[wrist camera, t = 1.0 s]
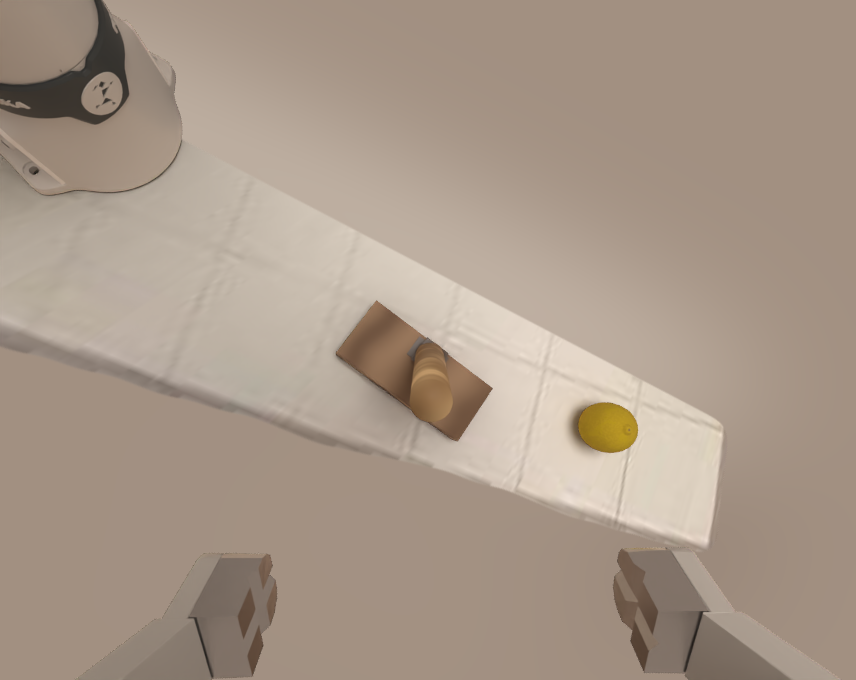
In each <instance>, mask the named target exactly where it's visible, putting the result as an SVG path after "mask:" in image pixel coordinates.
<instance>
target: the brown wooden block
mask: <svg viewBox="0 0 856 680" xmlns="http://www.w3.org/2000/svg"><path fill="white" fill-rule="evenodd" d="M425 340H426V338H425V337H424V336H423V335H421V334H420V333H419V332H417V331H416V330H415V329H414V328H412V327H411V326H410V325H408V324H407V323H406V322H404V321H403V320H402V319H400V318H399V317H398V316H396V315H395V314H394V313H392V312H391V311H390V310H388V309H387V308H386V307H384V306H383V305H382V304H380V303H379V302H378V301H377V300H376V302H375V303H374V304H373V306H372V307H371V308H370V309H369V311H368V312H367V313H366V315H365V316H364V317H363V318H362V320H361V321H360V322H359V324H358V325H357V326H356V328H355V329H354V330H353V331H352V333H351V334H350V335H349V337H348V338H347V339H346V340H345V342H344V343H343V344H342V346H341V347H340V348H339V350H338V351H337V352H336V355H337V356H339V357H340V358H341V359H343V360H344V361H345V362H347V363H348V364H350V365H351V366H352V367H354V368H355V369H356V370H358V371H359V372H360V373H362V374H363V375H365V376H366V377H367V378H369V379H370V380H371V381H373V382H374V383H375V384H377V385H378V386H380V387H381V388H382V389H384V390H385V391H386V392H388V393H389V394H390V395H392V396H393V397H395V398H396V399H397V400H399V401H400V402H401V403H403V404H404V405H405V406H407V407H408V408H410V409H411V407H410V393H411V386H412V378H413V370H414V361H413V360H411V358H412V356H413V355H414V354H415V352H416V349H417V347H418V346H419V345H420V344H421V343H423V342H424V341H425ZM445 363H446V368H447V373H448V378H449V383H450V388H451V393H452V398H453V405H452V408H451V411H450V412H449V414H448V415H447V416H446V417H445V418H443V419H442V420H440V421H436V422H429V423H430V424H431V425H433V426H434V427H435V428H437V429H438V430H440V431H441V432H442V433H444V434H445V435H446V436H448V437H449V438H450V439H452V440H455V441H457V442H458V440H459V439H460V437H461V436H462V434H463V433H464V431H465V430H466V428H467V427H468V425H469V424H470V422H471V420H472V419H473V417H474V416H475V414H476V413H477V411H478V410H479V408H480V407H481V405H482V404H483V402H484V401H485V399H486V398H487V396H488V395H489V393H490V392H491V390H492V389H493V388H492V387H490V386H489V385H488V384H486V383H485V382H484V381H482V380H481V379H480V378H478V377H477V376H476V375H474V374H473V373H472V372H470V371H469V370H468V369H466V368H465V367H464V366H462V365H461V364H460V363H458V362H457V361H456V360H455V359H453V358H452V357H451V356H449V355H448V356H447V357H446V358H445Z"/></svg>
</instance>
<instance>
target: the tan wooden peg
mask: <svg viewBox="0 0 856 680" xmlns="http://www.w3.org/2000/svg"><path fill="white" fill-rule="evenodd" d="M447 356H448V353H447V352H446V351H445V350H443V349H442V348H441V347H440V346H439V345H438V344H436V343H434V342H433V341H431V340H430V339H429V338H426V340H425V341H424V342H423V343H421V344H420V345H419V346H418V347H417V349H416V352H415V354H414V355H413V356H412V358H411V360H413V361H414V370H413V378H412V386H411V393H410V407H411V410H412V412H413V413H414V414H415V416H416V417H418V418H419V419H421V420H423V421H426V422H436V421H440V420H442V419H443V418H445V417H446V416H447V415H448V414H449V412H450V411H451V408H452V405H453V398H452V393H451V388H450V383H449V378H448V373H447V368H446V363H445V358H446V357H447Z"/></svg>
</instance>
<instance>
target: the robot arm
mask: <svg viewBox="0 0 856 680" xmlns="http://www.w3.org/2000/svg"><path fill="white" fill-rule="evenodd" d="M175 83H176V77H175V72H174V70H173V68H172V67H171V65H170V64H169V63H168V62H167V61H165V60H164V59H162V58H160V57H158V56H157V55H155V54H153V53H151V52H149V51H148V50H147V48H146V46H145V45H144V43H143V42H142V40H141V39H140V37H139V35H138V34H137V32H136V31H135V29H134V28H133V27H132V25H131V24H130V23H129V22H127V21H126V20H121V19H119V18H117V17H116V16H114V15H112V14H111V13H110V11H109V9H108V8H107V6H106V4H105V3H104V1H103V0H0V154H1V155H2V156H3V157H4V158H5V159H6V160H7V161H8V162H9V163H10V164H11V166H12V167H13V168H14V169H15V170H16V171H17V172H18V173H19V174H20V175H21V176H22V177H23V178H24V179H25V180H26V181H27V182H28V184H29V185H30V186H32V187H33V188H34V189H35V190H36V191H37V192H39V193H41V194H44V195H53V194H59V193H64V192H68V191H72V190H88V191H97V192H117V191H124V190H129V189H133V188H136V187H139V186H141V185H144V184H146V183H148V182H149V181H151V180H153V179H154V178H156V177H157V176H159V175H160V174H161V173H162V172H163V171H164V170H165V169H166V168H167V167H168V166H169V165H170V164H171V162H172V161H173V159H174V158H175V156H176V154H177V152H178V149H179V146H180V143H181V138H182V121H181V117H180V113H179V110H178V107H177V104H176V102H175V98H174V91H175ZM36 170H39V172H38V174H36V175H34V172H35V171H36ZM617 562H618V564H619V566H620V568H621V570H620V571H619V572H618V573H617V574H616V575H615V576H614V584H613V590H614V600H615V603H616V607H617V610H618V613H619V615H620V618H621V620H622V622H623V623H625V624H626V625H627V626H628V627H629V628H630V629H631V630H632V635H631V640H630V641H631V644H632V646H633V648H634V651H635V653H636V655H637V657H638V660H639V662H640V665H641V667H642V669H643V671H644V673H685V677H687V679H688V680H841V679H840V678H838V677H837V676H835V675H834V674H833V673H831V672H830V671H828V670H827V669H825V668H824V667H822V666H821V665H819V664H818V663H816V662H815V661H813V660H812V659H811V658H809V657H808V656H806V655H805V654H803V653H802V652H800V651H799V650H798V649H796V648H794V647H793V646H792V645H790V644H789V643H787V642H786V641H784V640H783V639H781V638H780V637H778V636H777V635H775V634H774V633H773V632H771V631H770V630H768V629H767V628H765V627H764V626H762V625H761V624H760V623H758V622H756V621H755V620H753V619H752V618H751V617H749V616H748V615H746V614H745V613H744V612H736V611H735V610H734V609H733V607H732V606H731V605H730V603H729V601H728V600H727V599H726V597H725V596H724V594H723V593H722V592H721V590H720V589H719V587H718V586H717V584H716V583H715V582H714V580H713V579H712V577H711V576H710V574H709V573H708V572H707V570H706V569H705V567H704V566H703V564H702V563H701V561H700V560H699V559H698V557H697V556H696V554H695V553H694V552H693V550H691V549H690V548H688V547H673V548H625V549H621V550H620V552H619V555H618V559H617ZM272 566H273V565H272V561H271V557H270V555H268V554H246V553H225V554H218V553H217V554H216V553H204V554H203V555H201V556H200V557H199V558H198V559H197V560H196V562H195V564H194V565H193V567H192V569H191V571H190V572H189V574H188V575H187V577H186V579H185V581H184V582H183V584H182V586H181V587H180V589H179V590H178V592H177V594H176V596H175V597H174V599H173V601H172V602H171V604H170V606H169V607H168V609H167V611H166V612H165V614H164V616H163V617H162V619H154V620H153V621H152V622H150V623H149V624H148V625H146V626H145V627H144V628H142V629H141V630H140V631H138V632H137V633H136V634H135V635H133V636H132V637H131V638H129V639H128V640H127V641H125V642H124V643H123V644H121V645H120V646H119V647H117V648H116V649H115V650H113V651H112V652H111V653H110V654H108V655H107V656H106V657H104V658H103V659H102V660H100V661H99V662H98V663H96V664H95V665H94V666H92V667H91V668H90V669H89V670H87V671H86V672H85V673H83V674H82V675H81V676H79V677H78V678H77V679H75V680H212V679H214V678H237V677H252V676H253V674H254V671H255V668H256V665H257V662H258V659H259V657H260V654H261V651H262V648H263V641H262V636H261V634H262V633H263V632H264V631H265V630H266V629H267V628H268V627H269V626H270V625H271V622H272V619H273V616H274V613H275V606H276V601H277V587H276V580H275V579H274V578H273V577H272V576H271V575H269V574H270V571H271V568H272Z"/></svg>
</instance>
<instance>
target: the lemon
mask: <svg viewBox="0 0 856 680" xmlns="http://www.w3.org/2000/svg"><path fill="white" fill-rule="evenodd" d="M578 428H579V433H580V435H581V437H582V439H583V440H584V441H585V443H586V444H588V445H589V446H590V447H592V448H593V449H596V450H598V451H601V452H607V453H614V452H620V451H623V450H625V449H627V448H629V447H630V446H631V445H632V444H633V443H634V442H635V440H636V438H637V434H638V425H637V422H636V420H635V418H634V416H633V415H632V414H631V413H630V412H629V411H628V410H627V409H625V408H623V407H622V406H619V405H616V404H613V403H597V404H593V405H591V406H589V407H588V408H586V409H585V410H584V411H583V412H582V414H581V416H580V418H579V422H578Z"/></svg>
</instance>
